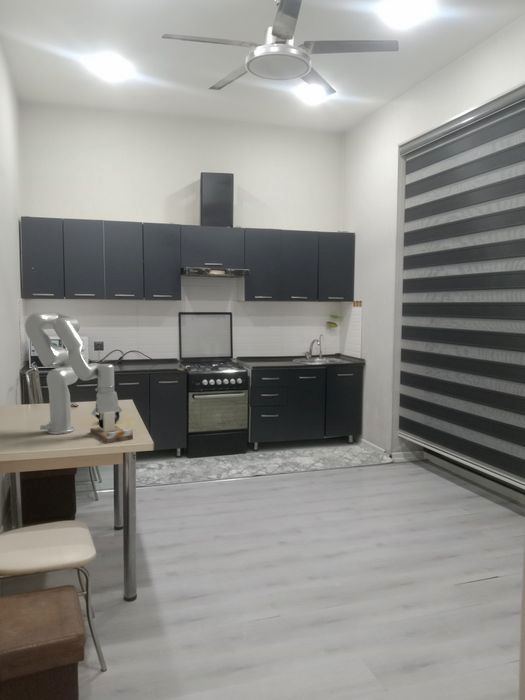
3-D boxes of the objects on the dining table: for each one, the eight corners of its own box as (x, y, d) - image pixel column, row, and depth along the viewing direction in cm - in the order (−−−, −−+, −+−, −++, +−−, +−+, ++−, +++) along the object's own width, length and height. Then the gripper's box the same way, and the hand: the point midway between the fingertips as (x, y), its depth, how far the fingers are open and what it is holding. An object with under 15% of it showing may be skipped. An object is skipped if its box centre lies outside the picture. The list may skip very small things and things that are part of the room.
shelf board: (107, 443, 231) (107, 433, 231) (90, 432, 251) (90, 423, 250) (133, 439, 239) (132, 429, 238) (114, 429, 258) (114, 420, 258)
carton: (104, 431, 244) (104, 413, 244) (99, 428, 250) (99, 410, 249) (115, 430, 247) (114, 411, 247) (109, 427, 253) (109, 409, 252)
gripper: (91, 392, 239) (92, 430, 240) (126, 389, 249) (127, 425, 251) (86, 390, 245) (87, 427, 247) (120, 387, 255) (121, 422, 257)
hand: (107, 426), depth 249 cm, fingers closed on carton, 5 cm apart
